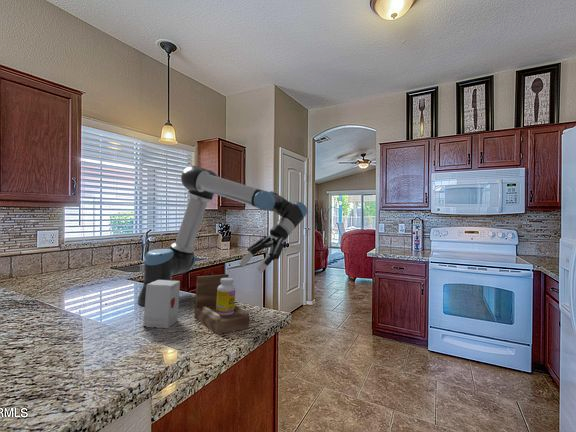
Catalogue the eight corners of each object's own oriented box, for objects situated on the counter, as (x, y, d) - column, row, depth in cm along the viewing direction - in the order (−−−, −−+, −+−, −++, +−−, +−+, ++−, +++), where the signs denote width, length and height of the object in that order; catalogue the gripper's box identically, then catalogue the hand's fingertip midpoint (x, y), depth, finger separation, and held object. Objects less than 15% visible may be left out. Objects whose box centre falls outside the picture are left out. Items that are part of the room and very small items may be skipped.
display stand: (194, 317, 113) (196, 276, 114) (224, 312, 122) (226, 274, 122) (216, 334, 98) (219, 286, 99) (249, 326, 107) (251, 283, 107)
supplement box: (168, 329, 101) (170, 285, 101) (142, 327, 101) (145, 284, 101) (178, 320, 110) (180, 280, 110) (155, 318, 110) (157, 279, 110)
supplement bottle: (228, 317, 104) (230, 281, 104) (212, 314, 106) (214, 279, 106) (237, 312, 110) (238, 278, 111) (221, 309, 112) (223, 276, 112)
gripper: (305, 239, 116) (273, 279, 106) (269, 234, 135) (239, 268, 126) (296, 225, 113) (261, 266, 103) (260, 222, 132) (229, 257, 122)
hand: (249, 267), depth 114 cm, fingers open, 13 cm apart
